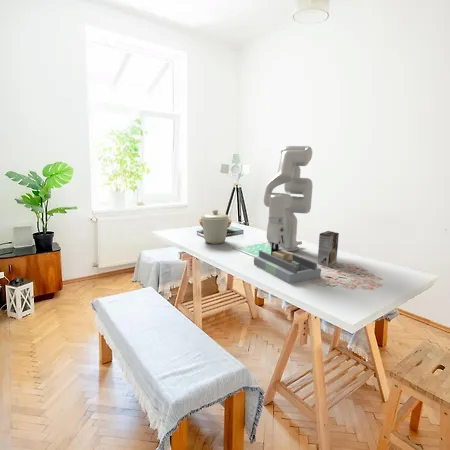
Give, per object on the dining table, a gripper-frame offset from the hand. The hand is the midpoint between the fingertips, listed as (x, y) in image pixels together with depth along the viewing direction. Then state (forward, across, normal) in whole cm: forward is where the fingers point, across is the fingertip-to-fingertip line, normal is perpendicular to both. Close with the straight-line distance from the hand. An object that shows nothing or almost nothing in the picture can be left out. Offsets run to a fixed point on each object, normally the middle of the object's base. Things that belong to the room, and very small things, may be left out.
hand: (274, 255), depth 162 cm
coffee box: (+5, -9, -27) cm, 29 cm away
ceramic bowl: (+5, +84, -7) cm, 84 cm away
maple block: (+1, -6, 0) cm, 6 cm away
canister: (+5, +54, +7) cm, 55 cm away
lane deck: (+5, -9, 0) cm, 10 cm away
